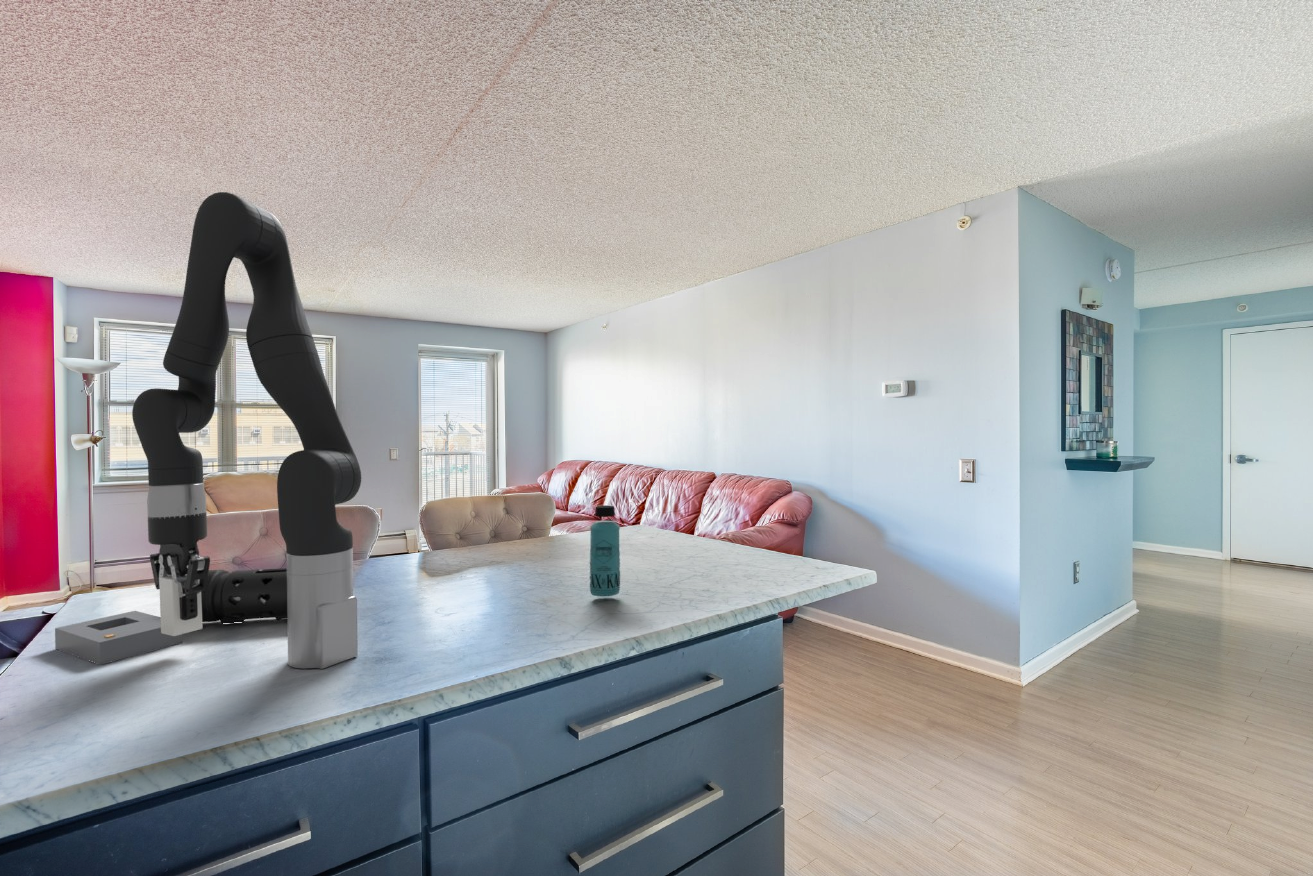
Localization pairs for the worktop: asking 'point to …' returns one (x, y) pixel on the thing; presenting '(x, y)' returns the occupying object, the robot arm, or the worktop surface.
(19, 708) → the worktop surface
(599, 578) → the beverage bottle
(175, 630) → the block
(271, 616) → the muzzle brake
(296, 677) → the worktop surface
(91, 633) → the outlet block
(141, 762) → the worktop surface
